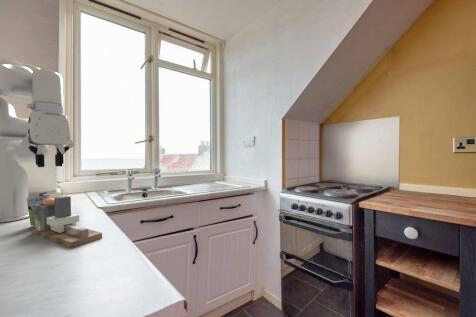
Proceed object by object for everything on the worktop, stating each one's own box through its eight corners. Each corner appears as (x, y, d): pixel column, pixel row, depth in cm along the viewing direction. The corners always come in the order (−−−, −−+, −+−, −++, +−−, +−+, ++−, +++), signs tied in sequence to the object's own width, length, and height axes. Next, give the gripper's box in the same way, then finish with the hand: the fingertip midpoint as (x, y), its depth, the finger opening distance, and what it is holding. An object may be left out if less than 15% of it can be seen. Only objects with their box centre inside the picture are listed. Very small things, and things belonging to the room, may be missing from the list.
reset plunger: (40, 207, 71) (40, 199, 71) (55, 204, 74) (55, 197, 74) (46, 208, 69) (46, 200, 69) (61, 206, 72) (61, 198, 72)
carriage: (46, 230, 67) (46, 197, 67) (69, 224, 72) (68, 194, 72) (56, 233, 64) (55, 199, 64) (79, 227, 69) (78, 196, 69)
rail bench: (31, 233, 70) (30, 205, 70) (61, 225, 77) (60, 200, 77) (71, 248, 58) (70, 214, 58) (102, 237, 65) (101, 207, 65)
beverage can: (42, 228, 75) (41, 193, 74) (21, 228, 75) (20, 193, 75) (58, 222, 81) (57, 190, 81) (38, 222, 81) (37, 190, 81)
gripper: (18, 103, 62) (20, 168, 62) (83, 113, 77) (84, 165, 77) (7, 106, 65) (9, 168, 66) (71, 115, 80) (73, 165, 81)
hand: (50, 166), depth 71 cm, fingers open, 4 cm apart
